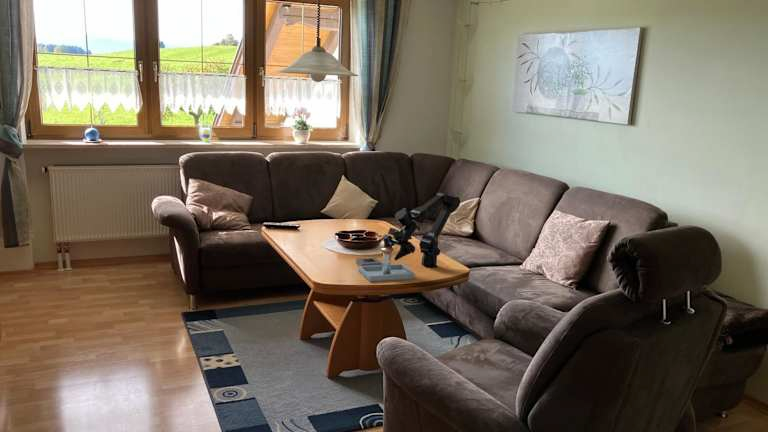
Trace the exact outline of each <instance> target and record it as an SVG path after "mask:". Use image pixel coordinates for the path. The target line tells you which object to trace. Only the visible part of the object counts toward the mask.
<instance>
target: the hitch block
mask: <svg viewBox="0 0 768 432" xmlns="http://www.w3.org/2000/svg"><path fill="white" fill-rule="evenodd" d="M355 263H356V265H357V266H358V267H359V266H374V265H382V261H380V259H378V258H376V257H359V258H358V257H357V258H356V259H355Z"/></svg>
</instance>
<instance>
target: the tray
mask: <svg viewBox="0 0 768 432" xmlns="http://www.w3.org/2000/svg"><path fill="white" fill-rule="evenodd" d="M358 273H359V274H361V276H363V277H364V279H366V280H367V281H368V282H369V283H370V282H382V281H383V282H385V281H401V280H414V279H415V277H416V276H415V275H416V274H415V272H414V271H412V270H411V269H410V268H408V267H407V266H406V265H405V264H403V263H395V264H394V263H393V264H392V263H391V274H387V275H383V274H382V265H374V266H358Z"/></svg>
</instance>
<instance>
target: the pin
mask: <svg viewBox="0 0 768 432" xmlns="http://www.w3.org/2000/svg"><path fill="white" fill-rule="evenodd" d="M380 251H381V252H382V251H383V256H382V261H381V262H382V274H383V275H387V274H391V264H392V252H393V251H394V247H393V248H391V247H384V246H383V247H381V248H380Z"/></svg>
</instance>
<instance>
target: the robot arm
mask: <svg viewBox="0 0 768 432" xmlns="http://www.w3.org/2000/svg"><path fill="white" fill-rule="evenodd" d="M440 205H441V209H440V212H439V215H437V218H436V220H435V222H434V224H433V225H432V227H431V229H430V231H429V232H428V233H427V234H426V233H425V234H423V235H422V236H421V239H420V240H419V244H418V245H419V249H420V253H421V254H422V257H421V266H423V267H424V268H426V269H427V268H437V267H439V266H438V265H437V261H438V256H440V254H441V249H440V248H439V247H438V246H439V237H440V234H441V232H442V231H443V229H444V227H445V225H446V224H447V222H448V219H449V218H450V216H451V215H452V214H453V213H454V212H456V211H457V209H458V208H459V207H460V206H461V199H460V197H459V196H456V195H450V194H446V193H444V192H437V193H436V195H435V196H434V197H432V198H431V199H430V200H428V201H427V202H425V203H424V204H423V205H421V206H418V207H415V208H413V209H412V210H411V211H409V210H408V208H405V207H403V208H402V209H400V210H398V211H397V212H396V213H395V214H394V217H395V219H396V220H397V222H398V223H399V224H400V226H402V228H398V229H396V228H395V227H394V228H393V227H389V229H388V233H387V234H383V236H382V237H381V239H382V241H383V243H384V244H383V247H391V248H393V249H394V247H393V246H395V245H396V246H400V249H399V250H398V252H397V253H396V255H395V257H394V261H396V262H397V261H398V260H400V259H401V258H403V257H405V256H408V255H411V254H414V252H415V251H416V247H415V245H414V244H413V243H412V242H411V241H412V240H413V237H412V236H413V235H414V234H415V232H416V231H418V232H419V231H421V228H420V224H422V223H424V222H425V221H426V220H427V219H428V218H429V215H430V214H431V213H432V212H433V211H434V210H435V209H437V208H438V207H439V206H440ZM417 223H418V224H417ZM419 223H420V224H419ZM409 240H411V241H409ZM381 256H382V257H383V251H381Z"/></svg>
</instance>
